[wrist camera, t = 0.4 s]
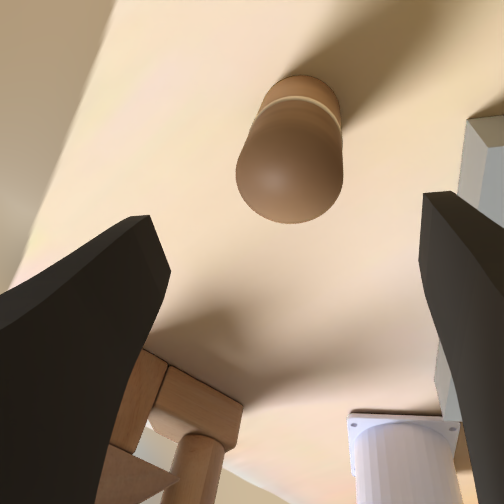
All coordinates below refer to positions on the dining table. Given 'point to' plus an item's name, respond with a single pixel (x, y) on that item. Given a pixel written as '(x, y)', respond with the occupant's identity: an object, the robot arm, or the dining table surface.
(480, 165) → the board
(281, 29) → the dining table surface
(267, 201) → the peg
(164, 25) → the dining table surface
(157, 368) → the wooden block
